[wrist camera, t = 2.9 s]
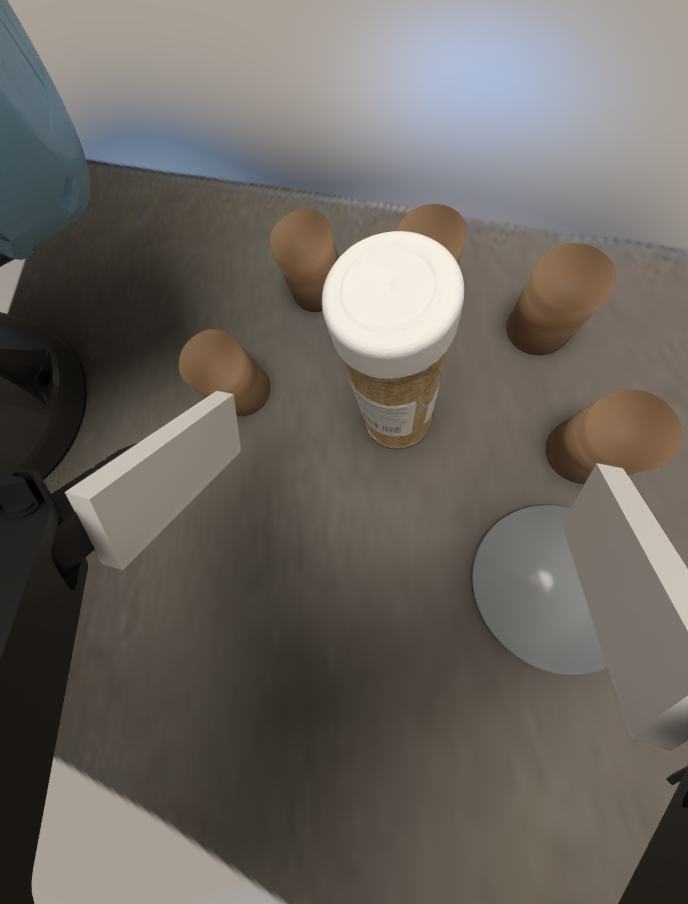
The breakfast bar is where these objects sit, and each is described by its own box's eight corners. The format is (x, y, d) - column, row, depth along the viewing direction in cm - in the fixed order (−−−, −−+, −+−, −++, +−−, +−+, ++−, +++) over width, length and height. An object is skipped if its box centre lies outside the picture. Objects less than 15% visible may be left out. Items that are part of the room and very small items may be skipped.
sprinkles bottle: (445, 415, 23) (500, 275, 10) (397, 464, 23) (392, 384, 10) (395, 373, 24) (388, 200, 11) (349, 419, 24) (290, 296, 11)
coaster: (443, 603, 21) (444, 606, 20) (518, 477, 22) (521, 476, 21) (592, 707, 19) (599, 713, 18) (670, 563, 20) (678, 564, 19)
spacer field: (209, 399, 26) (166, 370, 22) (340, 214, 28) (327, 149, 23) (533, 610, 20) (574, 637, 15) (678, 356, 22) (757, 307, 17)
